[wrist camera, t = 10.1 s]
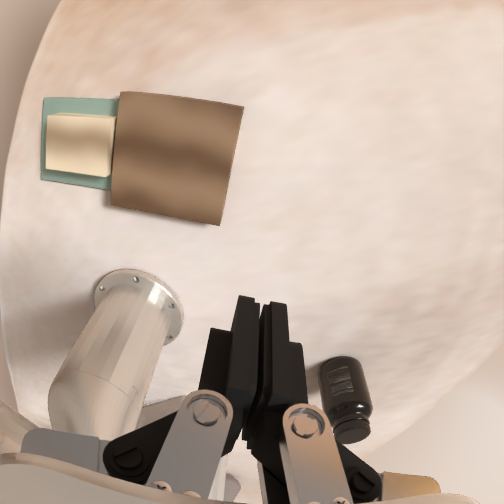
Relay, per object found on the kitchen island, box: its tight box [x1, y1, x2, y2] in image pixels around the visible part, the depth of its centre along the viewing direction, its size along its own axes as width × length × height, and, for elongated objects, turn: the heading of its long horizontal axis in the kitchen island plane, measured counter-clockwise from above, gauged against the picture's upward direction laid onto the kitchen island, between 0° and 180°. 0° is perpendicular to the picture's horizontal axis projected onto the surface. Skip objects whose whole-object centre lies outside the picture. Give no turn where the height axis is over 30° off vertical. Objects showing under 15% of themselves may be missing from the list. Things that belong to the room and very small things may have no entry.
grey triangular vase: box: [135, 396, 228, 501], centre depth 41 cm, size 19×15×28 cm
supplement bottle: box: [318, 357, 373, 444], centre depth 40 cm, size 7×7×12 cm
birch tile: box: [46, 113, 117, 177], centre depth 29 cm, size 6×8×2 cm
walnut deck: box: [111, 91, 244, 226], centre depth 30 cm, size 12×12×2 cm
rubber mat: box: [41, 98, 119, 190], centre depth 30 cm, size 10×11×1 cm
